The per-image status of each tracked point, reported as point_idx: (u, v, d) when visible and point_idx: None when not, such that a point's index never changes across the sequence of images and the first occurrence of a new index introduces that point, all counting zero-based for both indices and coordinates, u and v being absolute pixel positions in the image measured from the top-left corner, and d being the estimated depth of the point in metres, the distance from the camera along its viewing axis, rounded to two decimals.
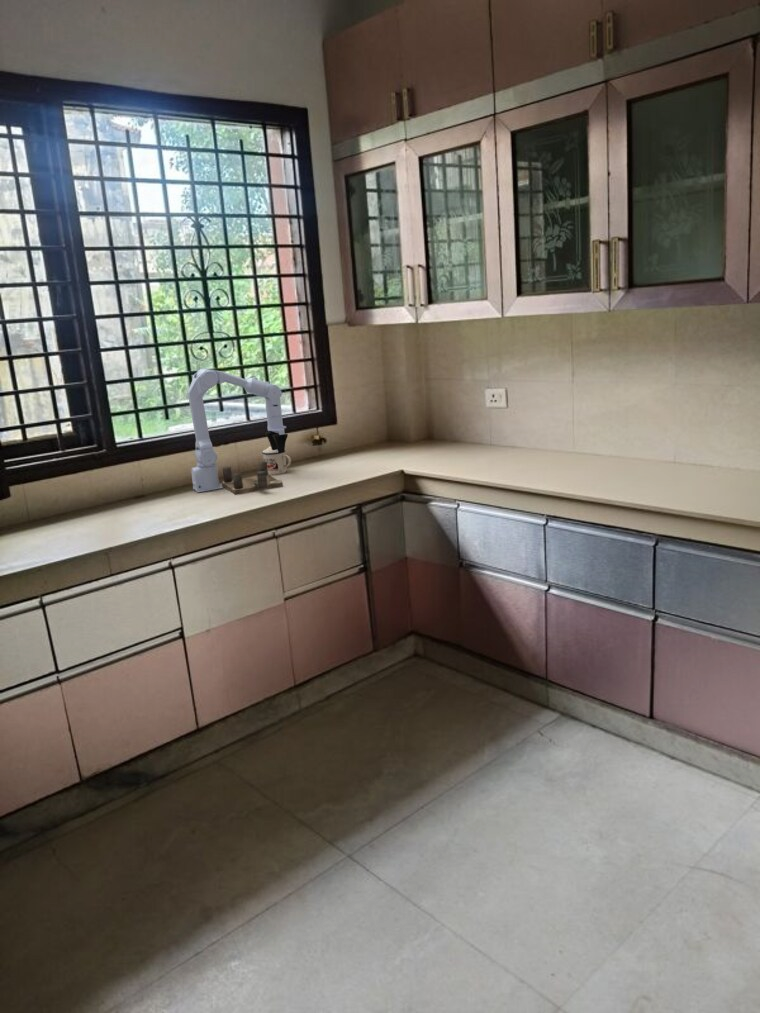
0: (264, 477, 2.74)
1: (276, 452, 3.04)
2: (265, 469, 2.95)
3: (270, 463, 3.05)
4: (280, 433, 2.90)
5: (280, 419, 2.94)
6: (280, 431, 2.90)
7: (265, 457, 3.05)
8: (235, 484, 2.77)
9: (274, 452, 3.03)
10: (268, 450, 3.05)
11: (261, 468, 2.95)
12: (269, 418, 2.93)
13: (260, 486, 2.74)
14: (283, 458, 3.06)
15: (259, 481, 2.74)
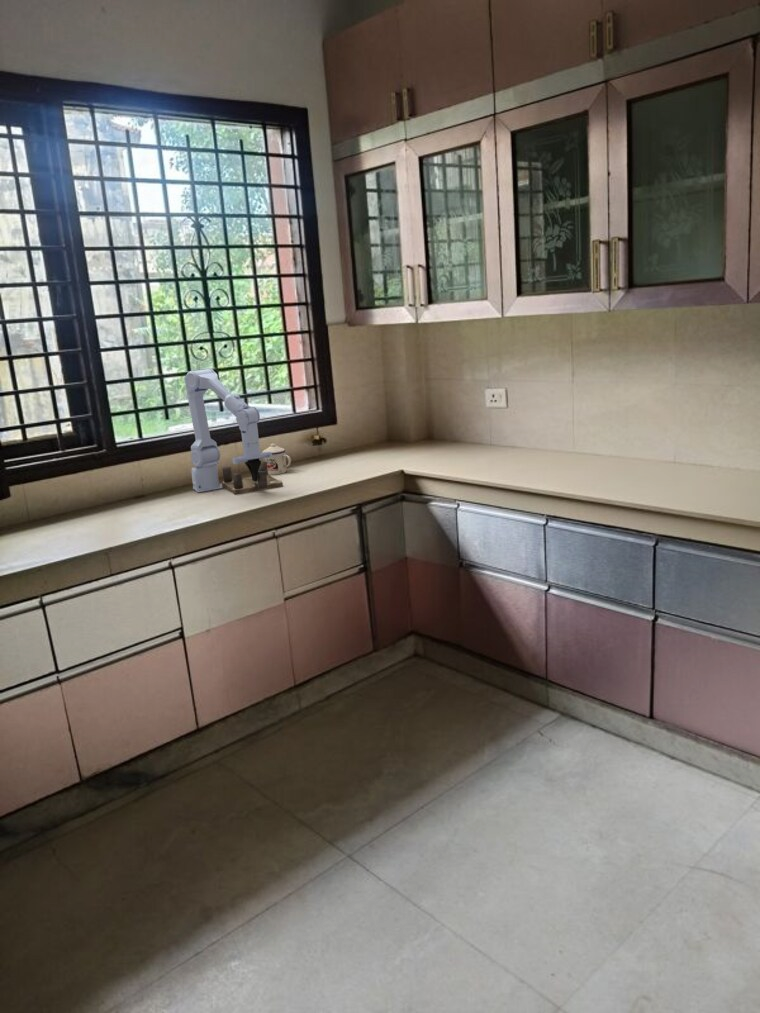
0: (264, 477, 2.74)
1: (276, 452, 3.04)
2: (265, 469, 2.95)
3: (270, 463, 3.05)
4: (233, 462, 2.69)
5: (247, 447, 2.69)
6: (232, 460, 2.69)
7: None
8: (235, 484, 2.77)
9: (274, 452, 3.03)
10: (268, 450, 3.05)
11: (261, 468, 2.95)
12: None
13: (260, 486, 2.74)
14: (283, 458, 3.06)
15: (259, 481, 2.74)
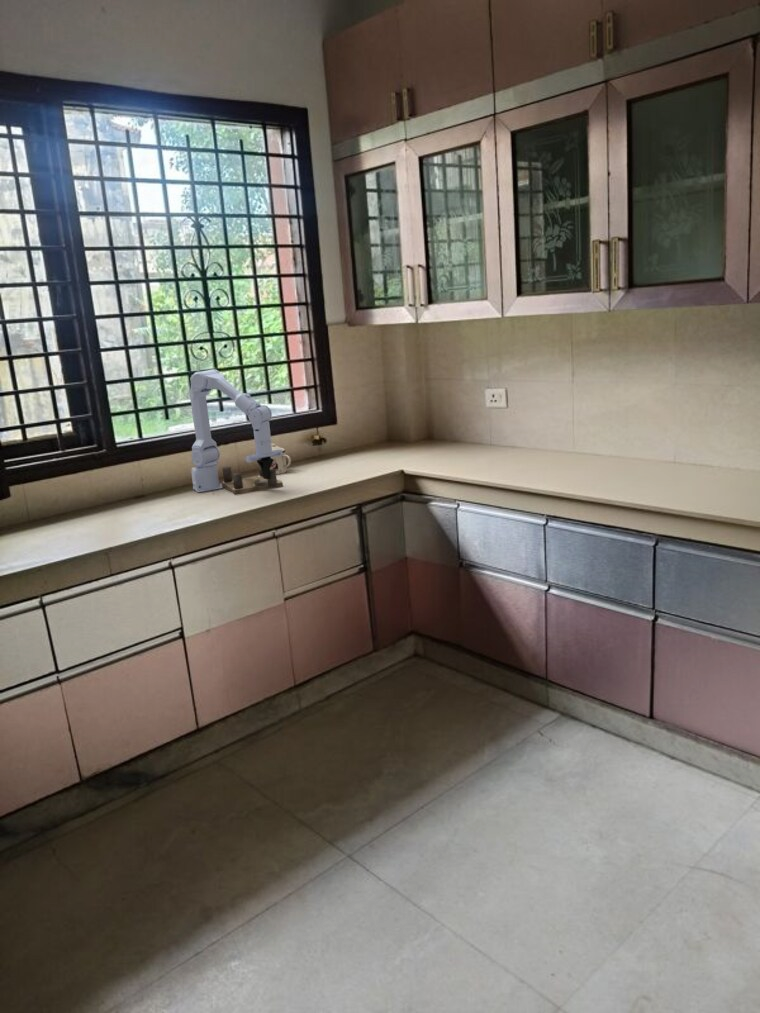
0: (275, 474, 2.77)
1: None
2: None
3: None
4: (246, 460, 2.70)
5: (260, 445, 2.70)
6: (246, 458, 2.70)
7: None
8: (235, 484, 2.77)
9: None
10: None
11: None
12: None
13: (272, 483, 2.77)
14: (283, 458, 3.06)
15: (271, 479, 2.76)
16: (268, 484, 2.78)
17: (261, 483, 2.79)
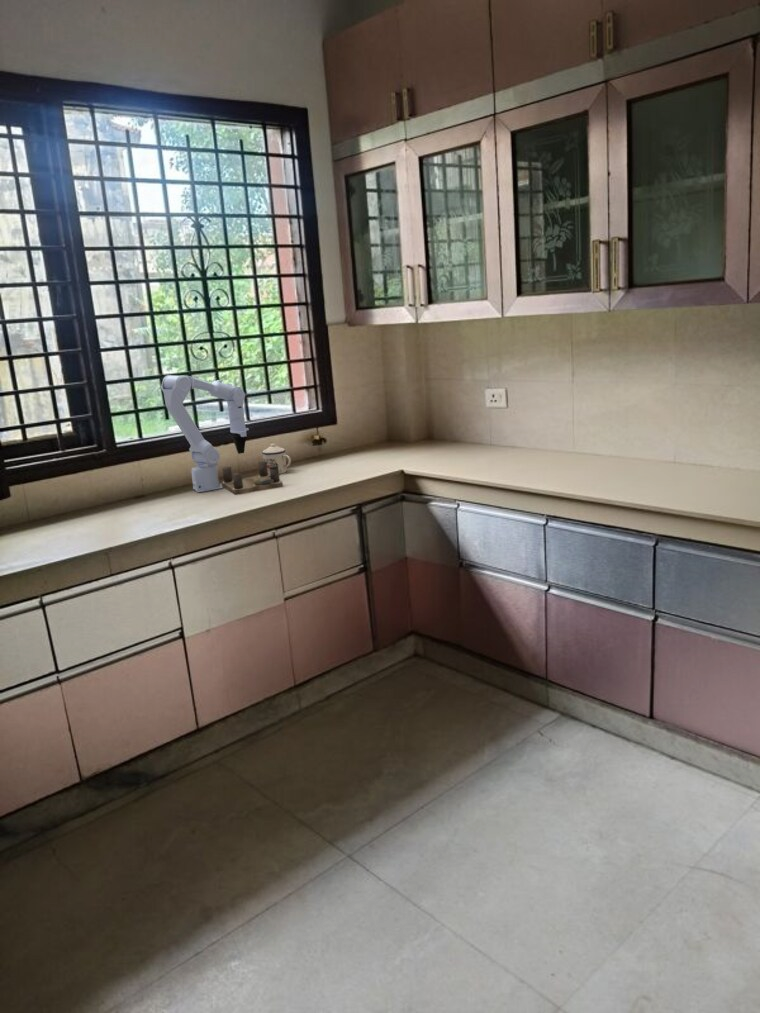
0: None
1: (276, 452, 3.04)
2: (265, 469, 2.95)
3: (270, 463, 3.05)
4: (242, 435, 2.90)
5: (242, 421, 2.94)
6: (242, 433, 2.90)
7: (265, 457, 3.05)
8: (235, 484, 2.77)
9: (274, 452, 3.03)
10: (268, 450, 3.05)
11: (261, 468, 2.95)
12: (231, 420, 2.93)
13: (278, 478, 2.84)
14: (283, 458, 3.06)
15: (277, 474, 2.84)
16: (274, 480, 2.83)
17: (265, 481, 2.82)
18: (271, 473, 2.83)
